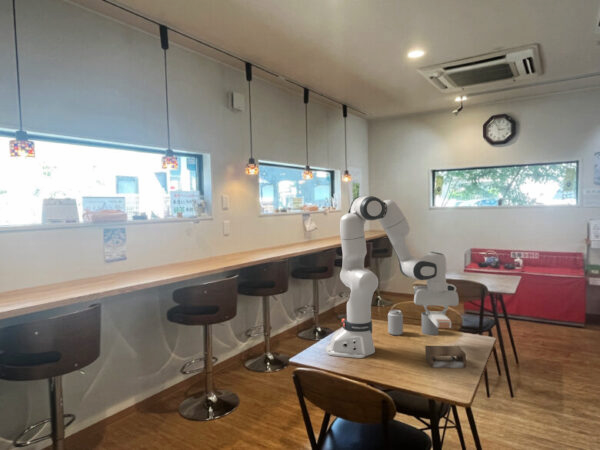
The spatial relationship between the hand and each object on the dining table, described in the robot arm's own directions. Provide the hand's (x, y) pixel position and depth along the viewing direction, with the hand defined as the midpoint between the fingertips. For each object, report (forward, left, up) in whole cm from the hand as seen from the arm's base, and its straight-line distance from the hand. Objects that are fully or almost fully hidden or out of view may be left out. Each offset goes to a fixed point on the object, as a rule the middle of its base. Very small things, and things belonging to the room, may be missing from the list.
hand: (435, 314), depth 182 cm
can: (-17, +14, -14) cm, 26 cm away
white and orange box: (0, -6, -2) cm, 7 cm away
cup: (+1, +16, -14) cm, 21 cm away
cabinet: (-2, -23, -14) cm, 27 cm away
